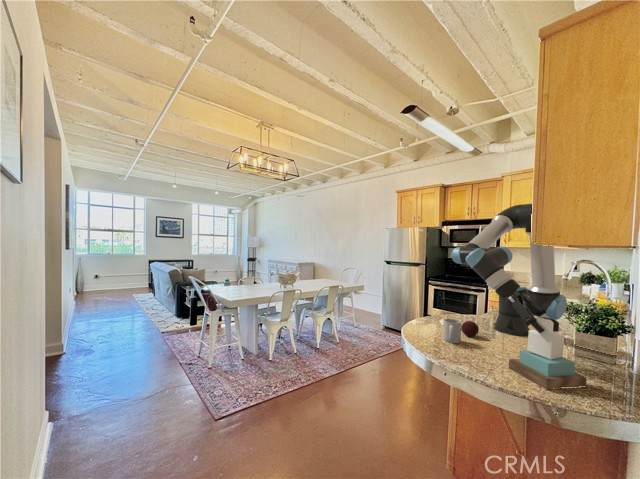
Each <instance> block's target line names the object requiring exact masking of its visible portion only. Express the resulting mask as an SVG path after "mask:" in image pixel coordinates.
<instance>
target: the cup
mask: <svg viewBox="0 0 640 479" xmlns="http://www.w3.org/2000/svg"><path fill="white" fill-rule="evenodd" d="M461 326H462V321H460V320H458V319H455V318H444V319H443V326H442V329H443V330H442V339H443V340H444V342H447V343H450V344H460V343H461V341H462V330H461Z"/></svg>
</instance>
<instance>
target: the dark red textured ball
mask: <svg viewBox="0 0 640 479" xmlns="http://www.w3.org/2000/svg"><path fill="white" fill-rule="evenodd" d="M479 330H480V329H479V326H478V324H477V323H476V322H475V321H471V320H467V321H464V322H463V323H461V333H462V334H464V335H465V336H468V337H475V336H476V335H477V334H479V332H480V331H479Z"/></svg>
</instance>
